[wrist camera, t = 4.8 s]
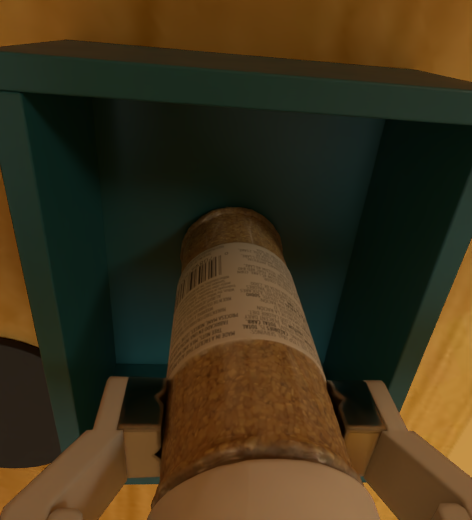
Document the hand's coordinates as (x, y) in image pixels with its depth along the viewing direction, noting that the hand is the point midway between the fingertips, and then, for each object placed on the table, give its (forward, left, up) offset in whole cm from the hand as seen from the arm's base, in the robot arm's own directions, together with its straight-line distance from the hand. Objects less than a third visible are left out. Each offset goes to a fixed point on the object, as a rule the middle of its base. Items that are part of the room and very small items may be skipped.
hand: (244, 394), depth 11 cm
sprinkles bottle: (0, 0, -8) cm, 8 cm away
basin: (0, 0, -8) cm, 8 cm away
